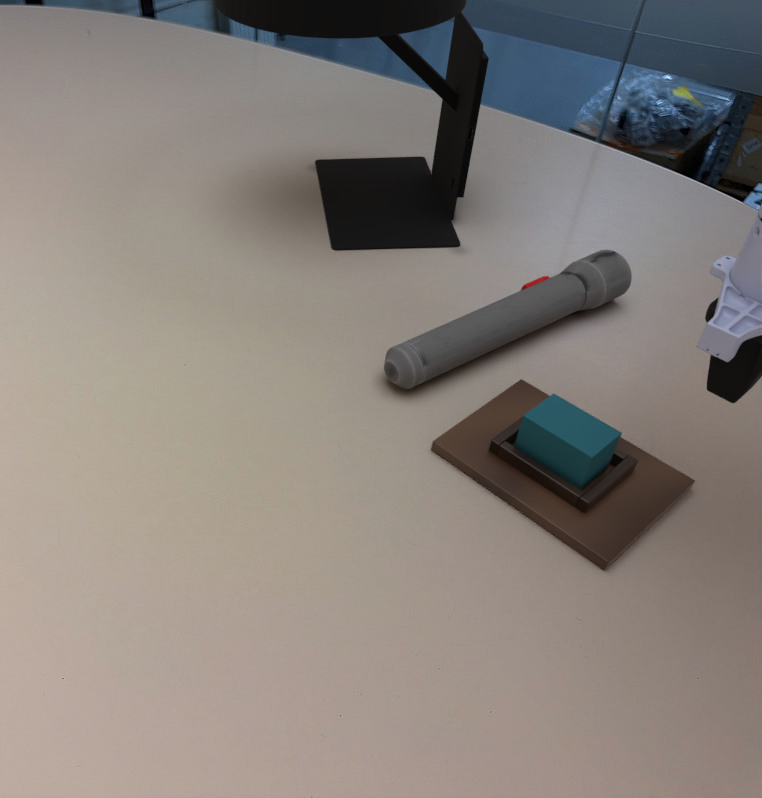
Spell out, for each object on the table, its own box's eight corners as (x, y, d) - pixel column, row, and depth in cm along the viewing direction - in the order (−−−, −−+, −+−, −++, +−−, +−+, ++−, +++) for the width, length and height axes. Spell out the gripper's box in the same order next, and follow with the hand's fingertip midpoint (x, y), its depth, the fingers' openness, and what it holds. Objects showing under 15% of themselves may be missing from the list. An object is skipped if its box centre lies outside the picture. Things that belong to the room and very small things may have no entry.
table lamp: (477, 254, 89) (570, -194, 62) (222, 261, 89) (204, -181, 63) (432, 151, 108) (488, -226, 81) (221, 158, 108) (208, -216, 82)
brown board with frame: (691, 488, 63) (701, 469, 62) (604, 570, 58) (613, 552, 56) (518, 387, 73) (524, 368, 71) (430, 449, 67) (434, 430, 66)
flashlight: (395, 406, 73) (367, 360, 75) (611, 304, 83) (582, 265, 84) (417, 384, 69) (387, 335, 70) (643, 279, 78) (612, 238, 80)
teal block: (607, 468, 64) (622, 432, 61) (578, 493, 62) (592, 457, 59) (541, 428, 67) (553, 392, 65) (512, 451, 66) (523, 415, 63)
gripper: (796, 163, 54) (719, 326, 63) (684, 239, 48) (616, 408, 57) (915, 202, 50) (815, 370, 59) (810, 290, 43) (715, 464, 53)
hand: (724, 392), depth 58 cm, fingers closed
